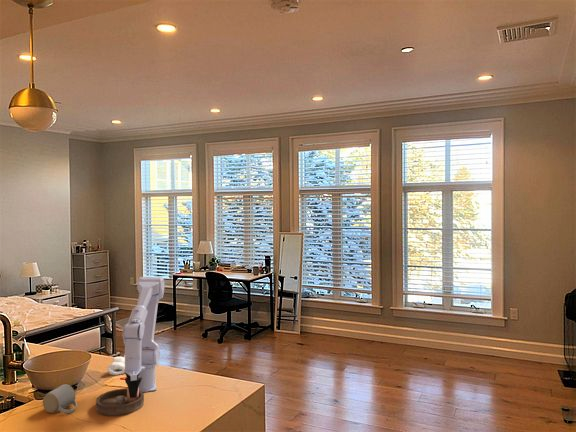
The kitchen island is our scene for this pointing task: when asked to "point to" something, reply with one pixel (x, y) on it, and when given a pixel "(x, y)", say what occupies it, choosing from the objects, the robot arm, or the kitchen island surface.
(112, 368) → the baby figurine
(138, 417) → the kitchen island surface
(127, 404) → the groove tray
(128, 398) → the bead
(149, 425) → the kitchen island surface
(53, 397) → the ceramic mug
